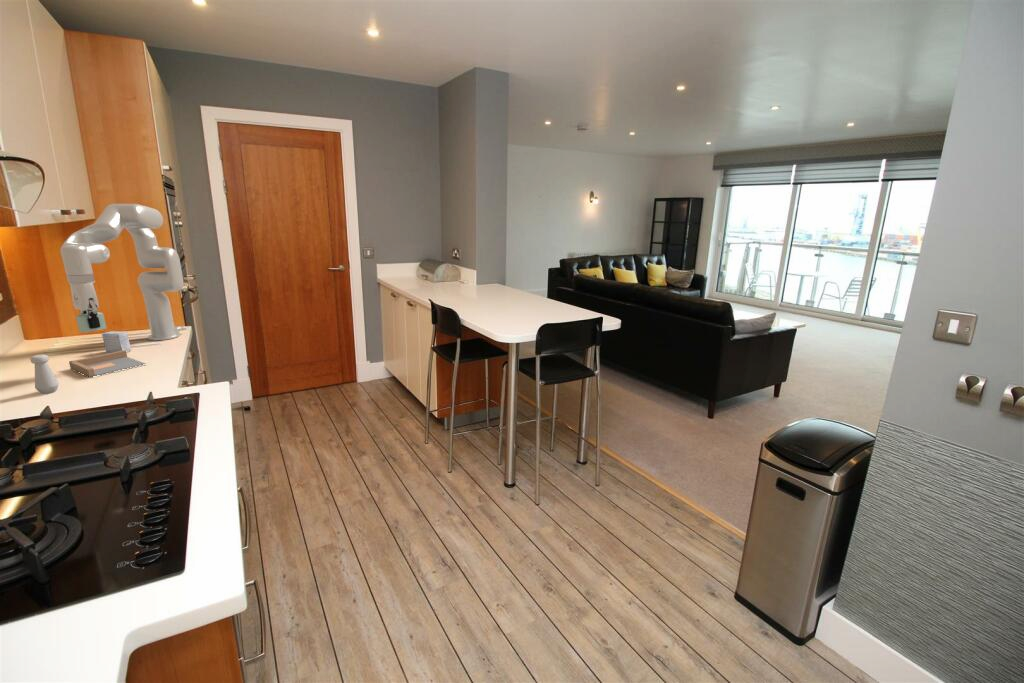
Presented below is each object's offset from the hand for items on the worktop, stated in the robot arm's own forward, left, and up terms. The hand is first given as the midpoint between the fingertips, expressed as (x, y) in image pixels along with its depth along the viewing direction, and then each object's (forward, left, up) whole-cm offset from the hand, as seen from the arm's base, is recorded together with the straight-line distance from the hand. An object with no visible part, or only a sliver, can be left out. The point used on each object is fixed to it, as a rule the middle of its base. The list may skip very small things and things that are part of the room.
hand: (92, 326), depth 184 cm
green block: (0, 0, -1) cm, 1 cm away
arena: (-2, +1, -17) cm, 17 cm away
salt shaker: (+20, +15, -17) cm, 30 cm away
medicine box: (-13, -20, -17) cm, 29 cm away
